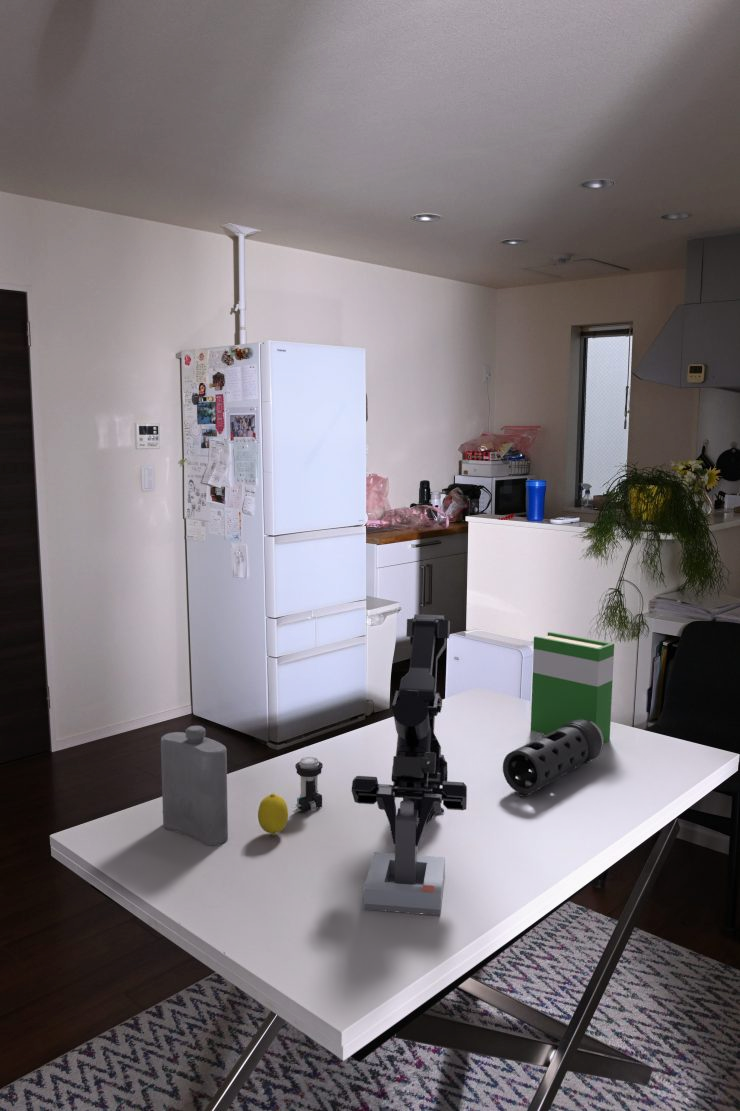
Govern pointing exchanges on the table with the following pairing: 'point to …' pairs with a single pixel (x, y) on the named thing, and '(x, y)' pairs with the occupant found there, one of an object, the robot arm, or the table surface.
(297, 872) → the table surface
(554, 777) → the muzzle brake
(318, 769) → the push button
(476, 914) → the table surface
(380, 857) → the socket box
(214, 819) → the flask
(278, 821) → the lemon
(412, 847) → the plug
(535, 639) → the hardback book
